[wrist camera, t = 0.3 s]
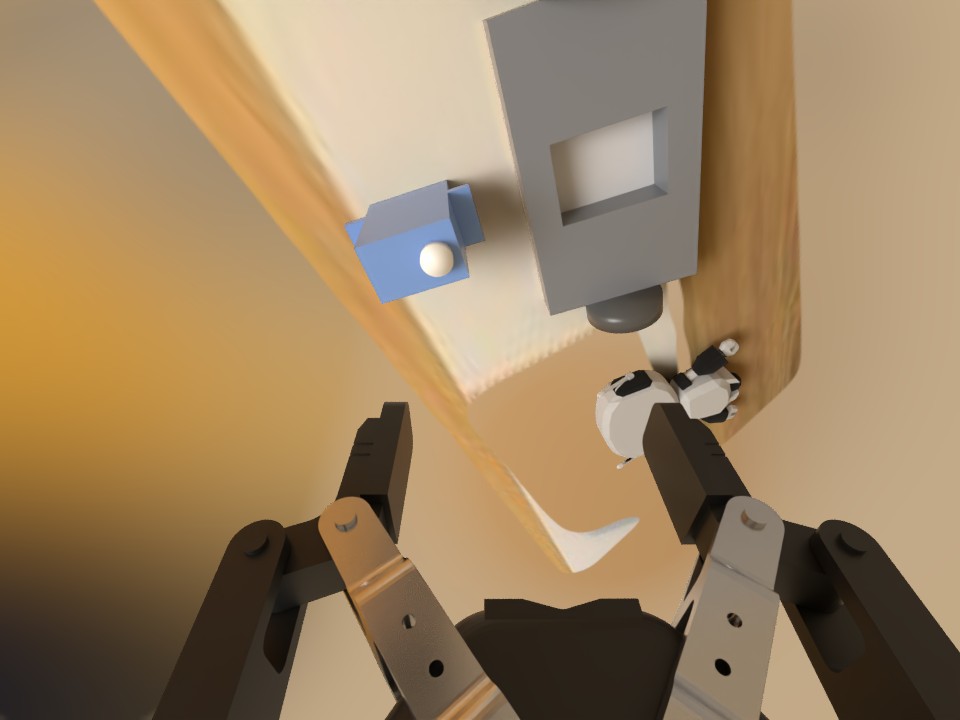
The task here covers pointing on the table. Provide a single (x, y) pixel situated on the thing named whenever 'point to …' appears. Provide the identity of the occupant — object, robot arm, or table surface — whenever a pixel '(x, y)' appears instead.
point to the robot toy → (666, 398)
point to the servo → (417, 239)
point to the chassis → (605, 147)
